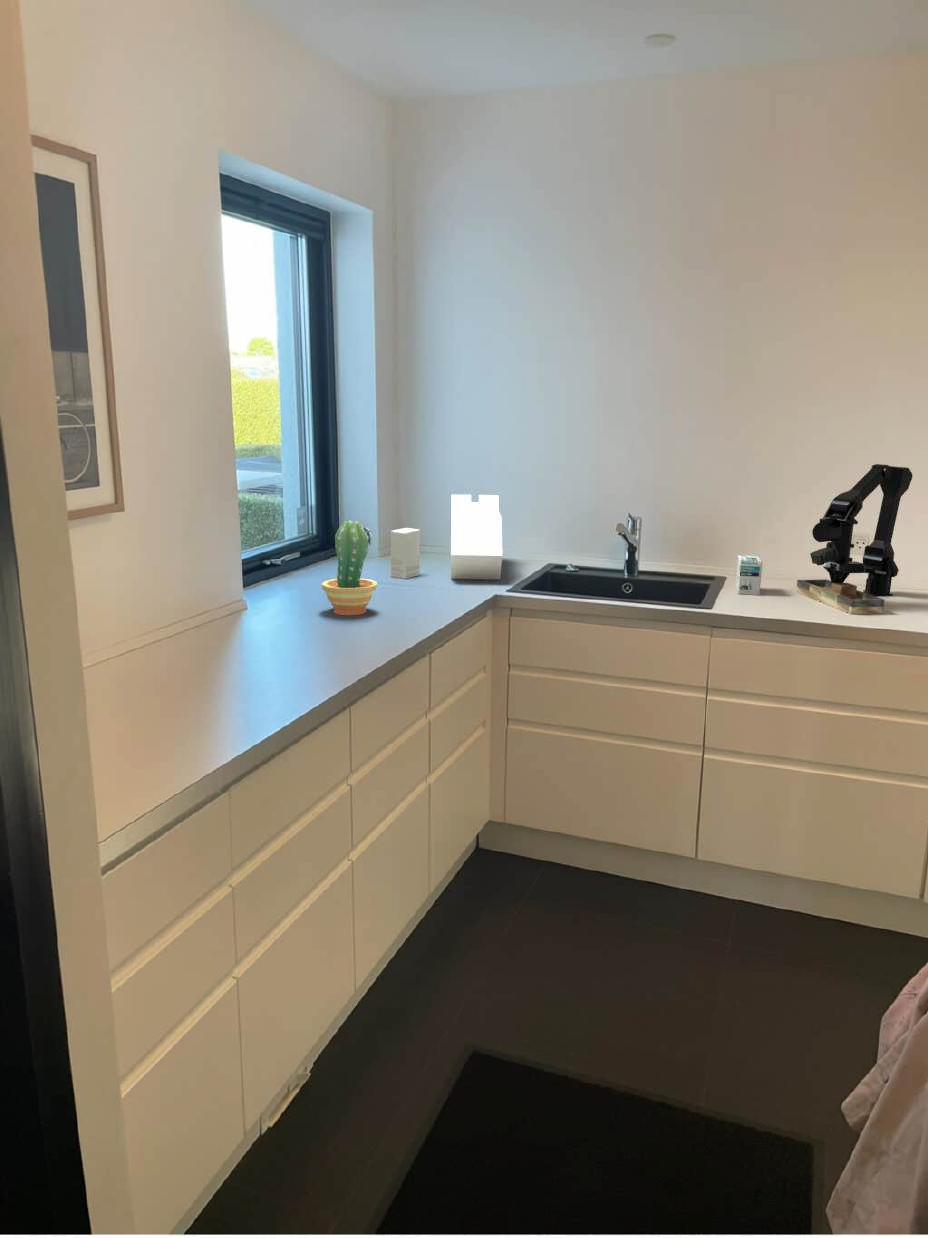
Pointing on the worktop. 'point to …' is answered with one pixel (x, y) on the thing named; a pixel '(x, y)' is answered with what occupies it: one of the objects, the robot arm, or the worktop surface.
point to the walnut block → (844, 589)
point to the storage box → (476, 538)
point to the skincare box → (405, 553)
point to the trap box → (840, 597)
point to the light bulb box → (748, 575)
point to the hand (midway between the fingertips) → (835, 591)
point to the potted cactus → (350, 571)
